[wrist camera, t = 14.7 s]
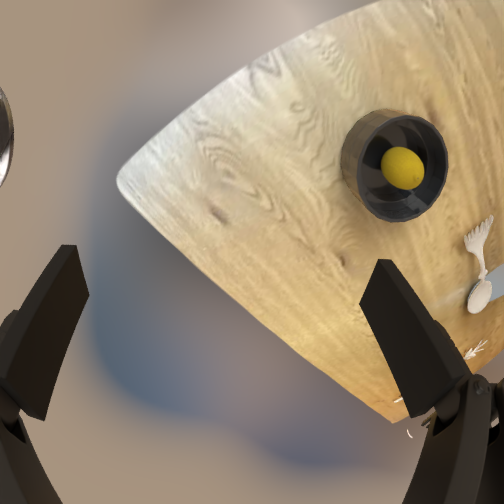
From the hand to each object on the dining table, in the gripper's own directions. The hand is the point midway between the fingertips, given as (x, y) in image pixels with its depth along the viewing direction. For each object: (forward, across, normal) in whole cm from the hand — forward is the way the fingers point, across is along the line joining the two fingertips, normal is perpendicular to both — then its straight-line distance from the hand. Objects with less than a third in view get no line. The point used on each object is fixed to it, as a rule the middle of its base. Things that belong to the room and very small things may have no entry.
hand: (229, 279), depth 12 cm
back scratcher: (+27, +58, -18) cm, 67 cm away
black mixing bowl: (+27, +23, +1) cm, 36 cm away
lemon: (+27, +23, +1) cm, 36 cm away
